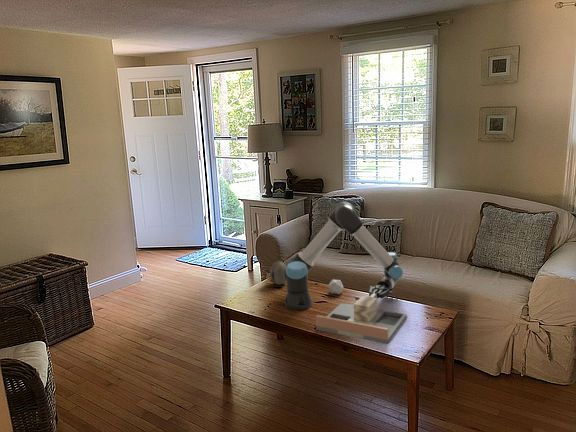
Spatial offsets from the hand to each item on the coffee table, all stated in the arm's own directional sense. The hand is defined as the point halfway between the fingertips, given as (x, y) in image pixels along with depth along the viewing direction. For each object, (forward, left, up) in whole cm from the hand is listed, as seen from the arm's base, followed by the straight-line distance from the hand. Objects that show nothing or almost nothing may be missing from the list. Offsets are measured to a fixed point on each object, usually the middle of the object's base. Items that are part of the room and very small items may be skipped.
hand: (370, 300), depth 236 cm
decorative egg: (-68, +21, -8) cm, 72 cm away
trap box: (0, -11, -8) cm, 14 cm away
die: (-29, +21, -8) cm, 37 cm away
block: (0, -6, -6) cm, 9 cm away
